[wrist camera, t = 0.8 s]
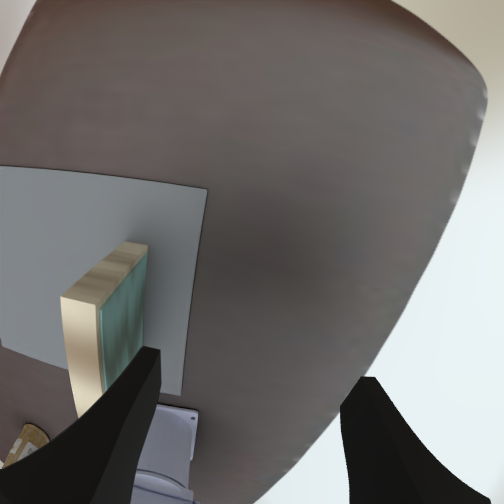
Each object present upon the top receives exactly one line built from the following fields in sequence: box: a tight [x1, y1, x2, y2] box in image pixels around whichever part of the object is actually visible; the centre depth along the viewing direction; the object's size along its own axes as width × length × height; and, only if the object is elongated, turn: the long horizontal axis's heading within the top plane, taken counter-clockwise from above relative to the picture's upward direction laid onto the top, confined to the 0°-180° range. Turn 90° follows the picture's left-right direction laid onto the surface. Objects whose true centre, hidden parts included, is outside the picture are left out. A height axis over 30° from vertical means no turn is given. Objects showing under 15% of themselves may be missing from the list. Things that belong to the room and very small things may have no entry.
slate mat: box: [0, 166, 208, 396], centre depth 24 cm, size 20×22×1 cm
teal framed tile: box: [60, 241, 148, 418], centre depth 19 cm, size 10×2×11 cm, turn 169°
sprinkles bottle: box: [2, 424, 49, 468], centre depth 23 cm, size 5×5×13 cm
